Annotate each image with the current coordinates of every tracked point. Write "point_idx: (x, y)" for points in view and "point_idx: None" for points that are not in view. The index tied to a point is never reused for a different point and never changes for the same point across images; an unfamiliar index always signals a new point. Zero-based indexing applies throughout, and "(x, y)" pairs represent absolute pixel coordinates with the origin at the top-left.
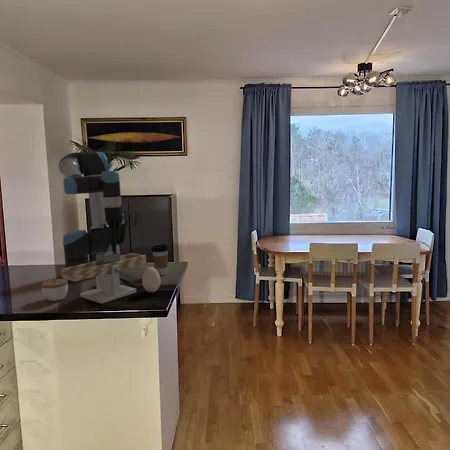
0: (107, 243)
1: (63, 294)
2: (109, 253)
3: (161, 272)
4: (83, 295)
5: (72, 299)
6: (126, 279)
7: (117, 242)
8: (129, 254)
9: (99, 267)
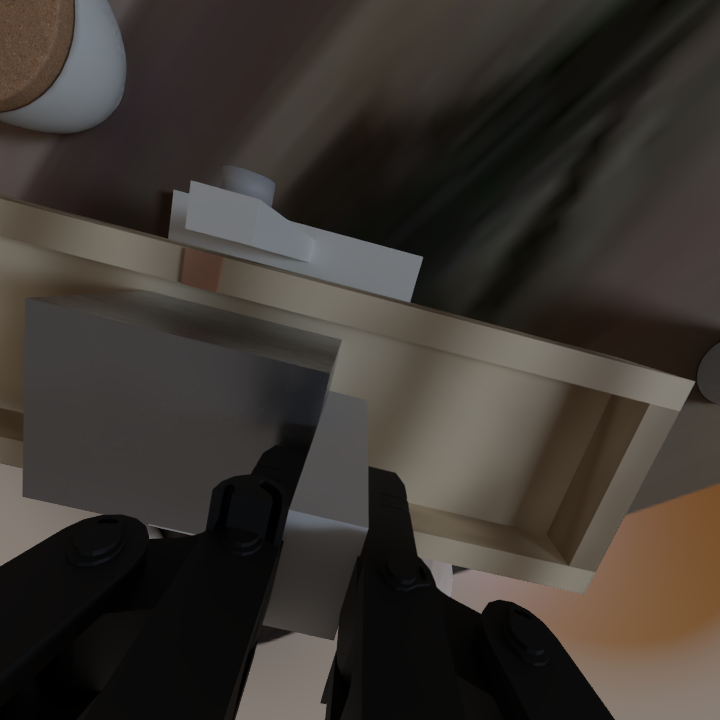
0: (76, 526)
1: (58, 133)
2: (216, 430)
3: (716, 397)
4: (173, 228)
5: (131, 184)
6: (577, 221)
7: (342, 643)
8: (614, 393)
9: (21, 457)
